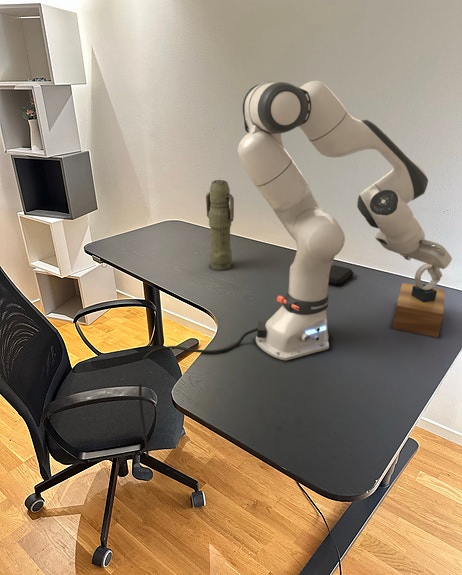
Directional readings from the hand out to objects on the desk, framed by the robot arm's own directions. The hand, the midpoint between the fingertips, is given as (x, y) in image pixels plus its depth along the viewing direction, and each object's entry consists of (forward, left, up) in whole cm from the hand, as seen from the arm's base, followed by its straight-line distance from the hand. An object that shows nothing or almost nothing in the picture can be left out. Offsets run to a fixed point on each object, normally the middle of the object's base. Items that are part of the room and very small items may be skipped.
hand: (422, 262), depth 127 cm
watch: (+6, +1, -14) cm, 15 cm away
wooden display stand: (+6, +2, -22) cm, 23 cm away
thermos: (-20, +76, -22) cm, 81 cm away
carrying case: (+9, +39, -22) cm, 45 cm away
